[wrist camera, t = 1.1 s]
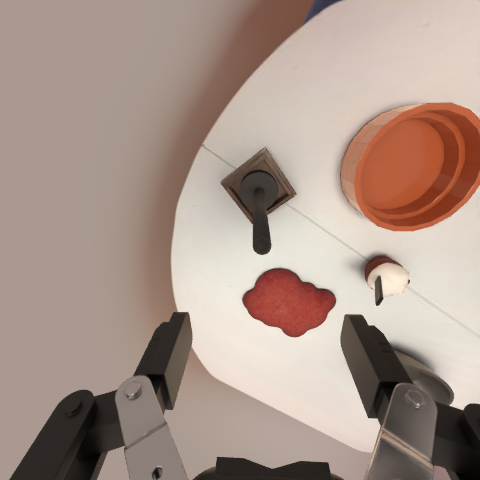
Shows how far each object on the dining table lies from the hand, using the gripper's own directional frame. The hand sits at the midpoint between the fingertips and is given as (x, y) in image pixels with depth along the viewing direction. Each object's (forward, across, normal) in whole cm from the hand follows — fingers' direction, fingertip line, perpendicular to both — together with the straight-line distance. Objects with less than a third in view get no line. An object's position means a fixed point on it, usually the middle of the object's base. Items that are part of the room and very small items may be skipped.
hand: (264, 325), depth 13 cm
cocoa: (+32, -22, +16) cm, 41 cm away
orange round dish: (+32, -21, -2) cm, 38 cm away
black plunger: (+31, 0, 0) cm, 31 cm away
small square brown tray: (+31, 0, 0) cm, 31 cm away
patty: (+32, -6, +24) cm, 40 cm away
